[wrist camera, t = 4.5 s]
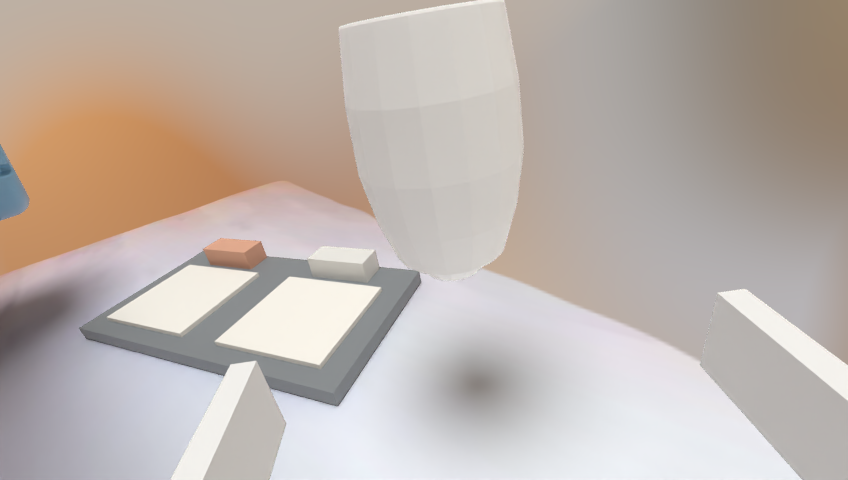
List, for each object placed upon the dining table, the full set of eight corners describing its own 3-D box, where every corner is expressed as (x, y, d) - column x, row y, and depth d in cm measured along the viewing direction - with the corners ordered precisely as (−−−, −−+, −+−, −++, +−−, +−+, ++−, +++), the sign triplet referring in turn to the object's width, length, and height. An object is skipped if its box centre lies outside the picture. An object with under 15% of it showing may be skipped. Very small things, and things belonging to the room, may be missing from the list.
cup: (391, 422, 24) (281, 35, 14) (445, 342, 29) (392, 22, 19) (509, 472, 20) (470, -3, 10) (546, 369, 25) (543, -7, 16)
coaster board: (86, 338, 36) (66, 310, 35) (208, 258, 48) (197, 235, 46) (337, 406, 25) (324, 369, 24) (421, 281, 36) (415, 251, 35)
